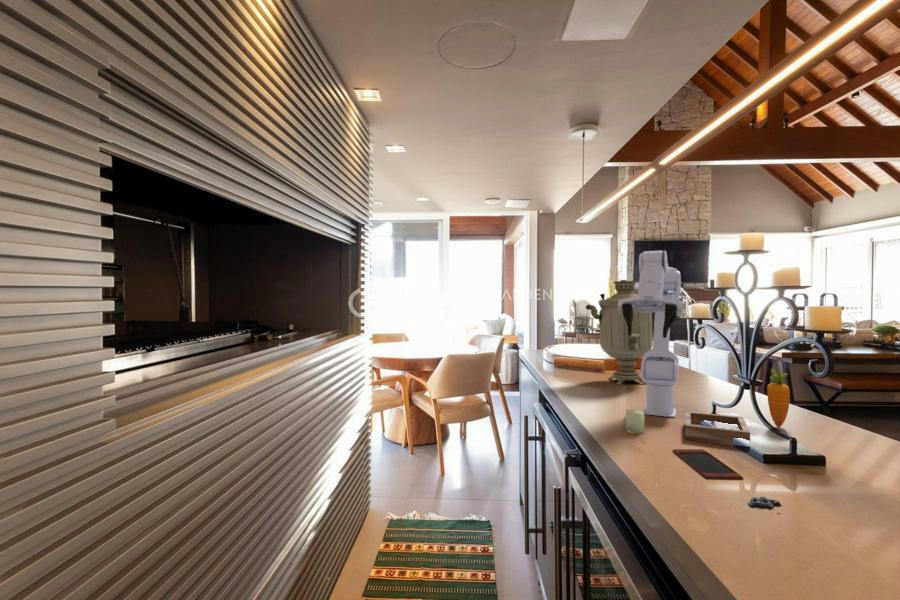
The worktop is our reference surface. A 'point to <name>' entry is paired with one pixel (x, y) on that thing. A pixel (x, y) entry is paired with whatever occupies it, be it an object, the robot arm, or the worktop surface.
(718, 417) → the walnut tray
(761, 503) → the blueberries
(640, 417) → the green cylinder
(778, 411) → the carrot
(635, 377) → the samovar
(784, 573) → the worktop surface
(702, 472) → the smartphone
